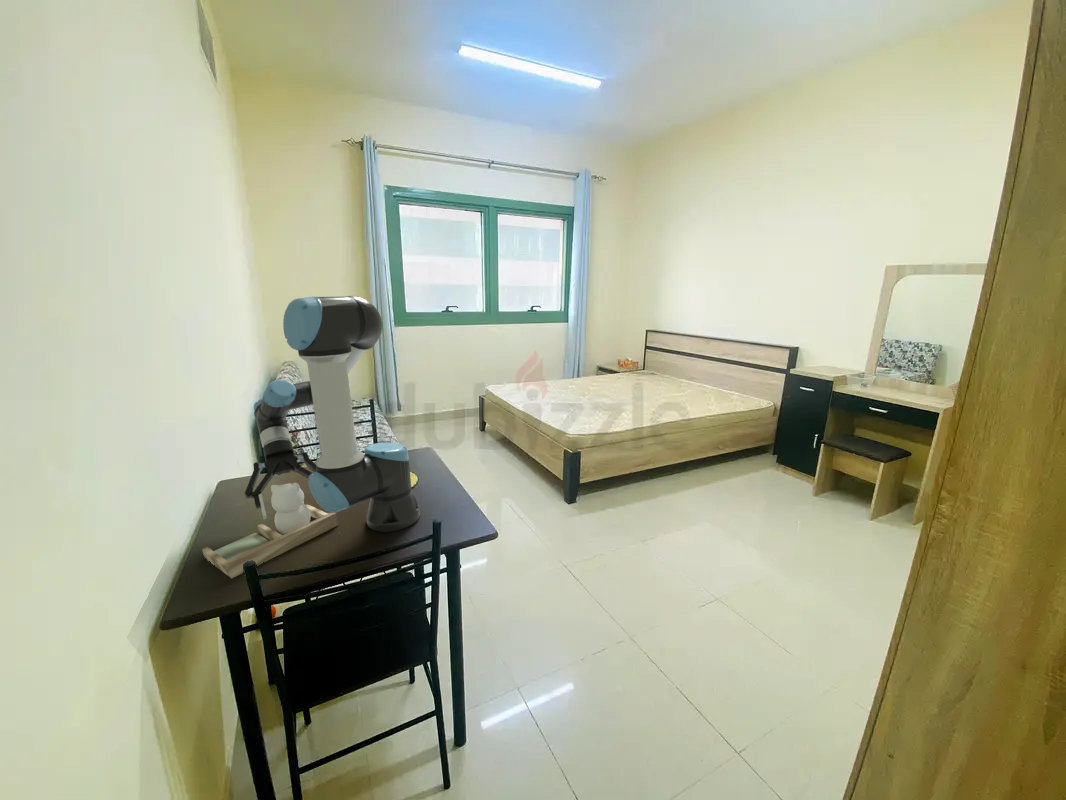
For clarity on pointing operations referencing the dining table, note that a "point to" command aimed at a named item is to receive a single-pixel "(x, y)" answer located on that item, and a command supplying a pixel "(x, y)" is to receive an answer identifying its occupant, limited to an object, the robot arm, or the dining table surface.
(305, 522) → the cat figurine
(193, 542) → the dining table surface
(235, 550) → the organizer
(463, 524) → the dining table surface
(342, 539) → the dining table surface
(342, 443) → the robot arm
